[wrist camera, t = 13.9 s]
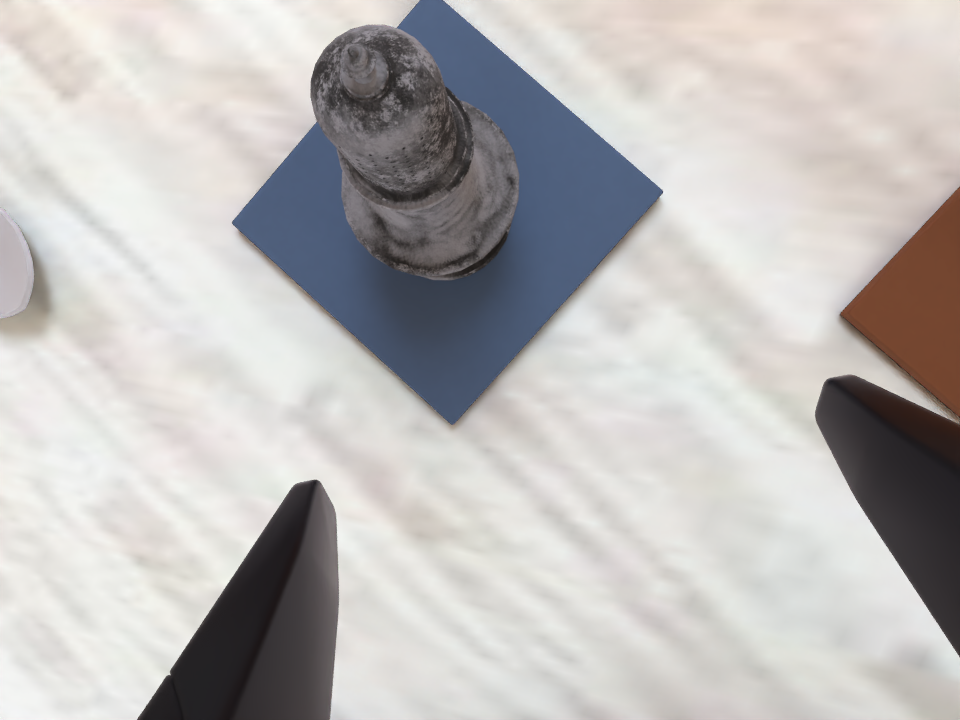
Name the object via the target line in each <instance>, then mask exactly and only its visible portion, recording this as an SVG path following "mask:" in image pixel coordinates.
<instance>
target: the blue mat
mask: <svg viewBox="0 0 960 720" xmlns="http://www.w3.org/2000/svg"><path fill="white" fill-rule="evenodd" d="M397 29H401V30H402V31H404V32H406V33H408V34H409V35H411V36H413V37H414V38H416V39H417V40H418V41H419V42H420V43H421V44H422V45H423V47H424V48H425V49H426V50H427V51H428V52H429V53H430V54H431V55H432V57H433V59H434V60H435V62H436V64H437V66H438V68H439V70H440V72H441V75H442V79H443V82H444V85H445V87H447V88H449V89H450V90H451V92H452V93H453V94H454V95H455V96H456V97H457V98H458V99H459V100H460V101H464V102H467V103H469V104H470V105H472V106H474V107H475V108H477V109H479V110H480V111H482V112H484V113H485V114H487V115H488V116H489V117H490V118H491V119H492V120H493V121H494V122H495V124H496V125H497V126H498V127H499V128H500V129H501V130H502V131H503V133H504V134H505V136H506V138H507V140H508V142H509V144H510V146H511V147H512V149H513V151H514V155H515V159H516V163H517V168H518V172H519V197H518V203H517V206H516V209H515V213H514V216H513V219H512V223H511V227H510V230H509V233H508V237H507V240H506V242H505V243H504V245H503V246H502V248H501V250H500V251H499V253H498V254H497V256H496V257H495V258H494V259H493V260H491V261H490V262H489V263H488V264H487V265H486V266H485V267H484V268H482V269H481V270H479V271H477V272H475V273H473V274H471V275H470V276H467V277H463V278H459V279H455V280H431V279H428V278H425V277H421V276H415V275H412V274H408V273H405V272H402V271H398V270H395V269H392V268H391V267H389V266H388V265H386V264H384V263H383V262H381V261H380V260H378V259H376V258H375V257H373V256H372V255H371V254H370V253H369V252H368V250H367V249H366V248H365V247H364V246H363V245H362V244H361V243H360V242H359V241H358V240H357V238H356V236H355V234H354V232H353V230H352V228H351V227H350V225H349V223H348V221H347V219H346V214H345V210H344V206H343V201H342V197H341V192H342V172H343V171H342V169H341V166H340V162H339V158H338V153H337V148H336V147H335V146H334V145H333V143H332V142H331V141H330V140H329V139H328V138H327V137H326V136H325V134H324V133H323V131H322V129H321V127H320V125H319V123H318V122H316V124H315V125H314V126H313V127H312V128H311V129H310V131H309V132H308V133H307V134H306V135H305V137H304V138H303V139H302V140H301V141H300V142H299V144H298V145H297V146H296V147H295V148H294V150H293V151H292V152H291V153H290V154H289V155H288V157H287V158H286V159H285V160H284V161H283V162H282V164H281V165H280V166H279V167H278V168H277V170H276V171H275V172H274V173H273V174H272V175H271V177H270V178H269V179H268V180H267V181H266V183H265V184H264V185H263V186H262V187H261V188H260V190H259V191H258V192H257V193H256V194H255V195H254V197H253V198H252V199H251V200H250V201H249V203H248V204H247V205H246V206H245V207H244V208H243V210H242V211H241V212H240V213H239V214H238V216H237V217H236V218H235V219H234V220H233V221H232V224H233V225H234V226H235V227H236V228H237V229H239V230H240V231H241V232H242V233H243V234H244V235H245V236H246V237H247V238H248V239H249V240H251V241H252V242H253V243H254V244H255V245H256V246H257V247H258V248H259V249H260V250H261V251H263V252H264V253H265V254H266V255H267V256H268V257H269V258H270V259H271V260H272V261H273V262H275V263H276V264H277V265H278V266H279V267H280V268H281V269H282V270H283V271H284V272H285V273H287V274H288V275H289V276H290V277H291V278H292V279H293V280H294V281H295V282H296V283H297V284H299V285H300V286H301V287H302V288H303V289H304V290H305V291H306V292H307V293H308V294H309V295H311V296H312V297H313V298H314V299H315V300H316V301H317V302H318V303H319V304H320V305H321V306H323V307H324V308H325V309H326V310H327V311H328V312H329V313H330V314H331V315H332V316H333V317H335V318H336V319H337V320H338V321H339V322H340V323H341V324H342V325H343V326H344V327H345V328H347V329H348V330H349V331H350V332H351V333H352V334H353V335H354V336H355V337H356V338H357V339H359V340H360V341H361V342H362V343H363V344H364V345H365V346H366V347H367V348H368V349H369V350H371V351H372V352H373V353H374V354H375V355H376V356H377V357H378V358H379V359H380V360H381V361H383V362H384V363H385V364H386V365H387V366H388V367H389V368H390V369H391V370H392V371H393V372H395V373H396V374H397V375H398V376H399V377H400V378H401V379H402V380H403V381H404V382H405V383H407V384H408V385H409V386H410V387H411V388H412V389H413V390H414V391H415V392H416V393H417V394H419V395H420V396H421V397H422V398H423V399H424V400H425V401H426V402H427V403H428V404H429V405H431V406H432V407H433V408H434V409H435V410H436V411H437V412H438V413H439V414H440V415H441V416H443V417H444V418H445V419H446V420H447V421H448V422H449V423H450V424H452V425H453V424H454V423H455V422H456V421H457V420H458V419H459V418H460V417H461V416H462V415H463V414H464V412H465V411H466V410H467V409H468V408H469V407H470V406H471V405H472V404H473V402H474V401H475V400H476V399H477V398H478V397H479V396H480V395H481V394H482V393H483V391H484V390H485V389H486V388H487V387H488V386H489V385H490V384H491V383H492V381H493V380H494V379H495V378H496V377H497V376H498V375H499V374H500V373H501V371H502V370H503V369H504V368H505V367H506V366H507V365H508V364H509V363H510V362H511V360H512V359H513V358H514V357H515V356H516V355H517V354H518V353H519V352H520V350H521V349H522V348H523V347H524V346H525V345H526V344H527V343H528V342H529V341H530V339H531V338H532V337H533V336H534V335H535V334H536V333H537V332H538V331H539V329H540V328H541V327H542V326H543V325H544V324H545V323H546V322H547V321H548V320H549V318H550V317H551V316H552V315H553V314H554V313H555V312H556V311H557V310H558V308H559V307H560V306H561V305H562V304H563V303H564V302H565V301H566V300H567V298H568V297H569V296H570V295H571V294H572V293H573V292H574V291H575V290H576V289H577V287H578V286H579V285H580V284H581V283H582V282H583V281H584V280H585V279H586V277H587V276H588V275H589V274H590V273H591V272H592V271H593V270H594V269H595V268H596V266H597V265H598V264H599V263H600V262H601V261H602V260H603V259H604V258H605V256H606V255H607V254H608V253H609V252H610V251H611V250H612V249H613V248H614V247H615V245H616V244H617V243H618V242H619V241H620V240H621V239H622V238H623V237H624V235H625V234H626V233H627V232H628V231H629V230H630V229H631V228H632V227H633V225H634V224H635V223H636V222H637V221H638V220H639V219H640V218H641V217H642V216H643V214H644V213H645V212H646V211H647V210H648V209H649V208H650V207H651V206H652V204H653V203H654V202H655V201H656V200H657V199H658V198H659V197H660V196H661V194H662V193H663V191H662V190H661V189H660V188H659V187H658V186H657V185H656V184H654V183H653V182H652V181H651V180H650V179H649V178H648V177H646V176H645V175H644V174H643V173H642V172H641V171H639V170H638V169H637V168H636V167H635V166H634V165H633V164H631V163H630V162H629V161H628V160H627V159H626V158H624V157H623V156H622V155H621V154H620V153H619V152H618V151H616V150H615V149H614V148H613V147H612V146H611V145H609V144H608V143H607V142H606V141H605V140H604V139H602V138H601V137H600V136H599V135H598V134H597V133H596V132H594V131H593V130H592V129H591V128H590V127H589V126H587V125H586V124H585V123H584V122H583V121H582V120H581V119H579V118H578V117H577V116H576V115H575V114H574V113H572V112H571V111H570V110H569V109H568V108H567V107H566V106H564V105H563V104H562V103H561V102H560V101H559V100H557V99H556V98H555V97H554V96H553V95H552V94H550V93H549V92H548V91H547V90H546V89H545V88H544V87H542V86H541V85H540V84H539V83H538V82H537V81H535V80H534V79H533V78H532V77H531V76H530V75H529V74H527V73H526V72H525V71H524V70H523V69H522V68H520V67H519V66H518V65H517V64H516V63H515V62H513V61H512V60H511V59H510V58H509V57H508V56H507V55H505V54H504V53H503V52H502V51H501V50H500V49H498V48H497V47H496V46H495V45H494V44H493V43H492V42H490V41H489V40H488V39H487V38H486V37H485V36H483V35H482V34H481V33H480V32H479V31H478V30H477V29H475V28H474V27H473V26H472V25H471V24H470V23H468V22H467V21H466V20H465V19H464V18H463V17H461V16H460V15H459V14H458V13H457V12H456V11H455V10H453V9H452V8H451V7H450V6H449V5H448V4H446V3H445V2H444V1H443V0H420V1H419V2H418V3H417V5H416V6H415V7H414V8H413V9H412V10H411V12H410V13H409V14H408V15H407V16H406V18H405V19H404V20H403V21H402V22H401V23H400V25H399V26H398V27H397Z"/></svg>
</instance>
